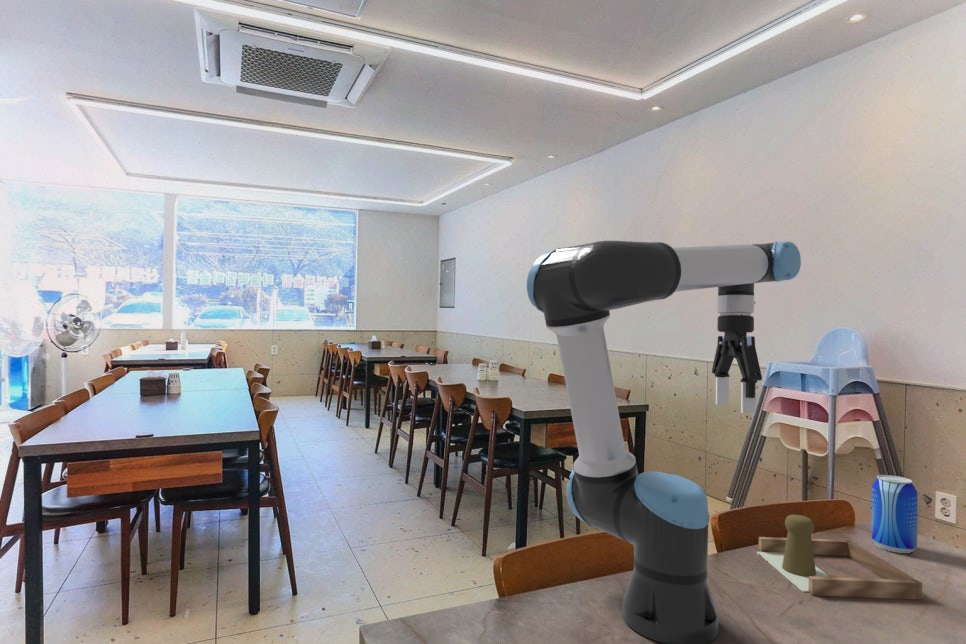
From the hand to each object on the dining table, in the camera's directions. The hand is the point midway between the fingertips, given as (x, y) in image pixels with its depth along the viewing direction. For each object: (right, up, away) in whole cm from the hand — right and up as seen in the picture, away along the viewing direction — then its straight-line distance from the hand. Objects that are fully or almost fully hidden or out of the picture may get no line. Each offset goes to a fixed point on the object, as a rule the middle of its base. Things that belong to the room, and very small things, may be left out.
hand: (734, 408), depth 122 cm
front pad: (+8, -32, -11) cm, 35 cm away
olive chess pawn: (+8, -32, -11) cm, 35 cm away
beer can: (+38, -33, +3) cm, 51 cm away
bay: (+15, -32, -11) cm, 37 cm away
